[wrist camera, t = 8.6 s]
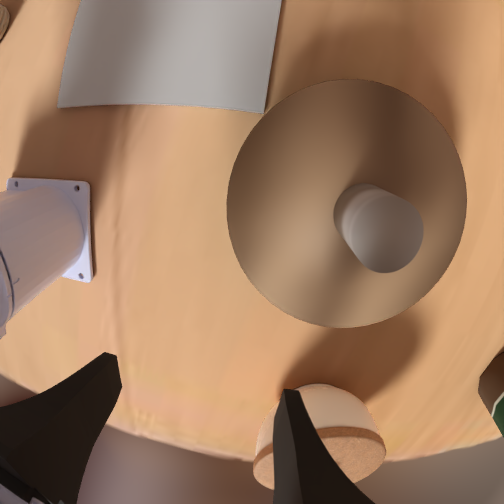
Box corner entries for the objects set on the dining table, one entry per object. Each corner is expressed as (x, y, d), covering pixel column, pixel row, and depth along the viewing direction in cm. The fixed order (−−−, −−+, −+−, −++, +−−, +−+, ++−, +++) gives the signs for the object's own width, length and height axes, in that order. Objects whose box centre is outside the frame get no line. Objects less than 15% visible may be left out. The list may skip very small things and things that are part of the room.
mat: (61, 108, 17) (57, 107, 16) (104, -49, 12) (101, -52, 11) (263, 113, 17) (263, 112, 16) (292, -60, 12) (292, -64, 11)
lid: (223, 312, 17) (212, 362, 13) (237, 67, 12) (227, 39, 8) (427, 321, 17) (456, 362, 13) (470, 116, 12) (520, 116, 8)
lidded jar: (244, 426, 27) (238, 503, 18) (275, 354, 23) (278, 451, 15) (337, 437, 28) (349, 507, 19) (386, 372, 24) (417, 452, 15)
